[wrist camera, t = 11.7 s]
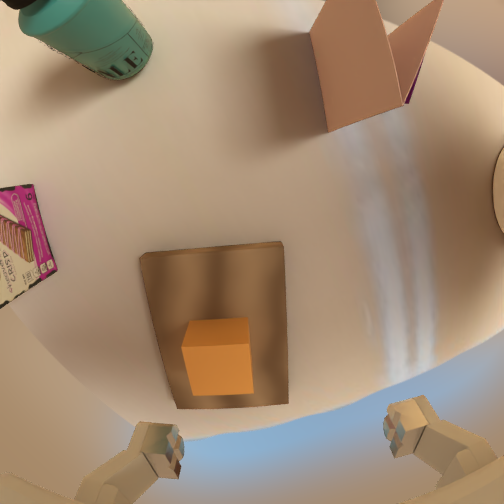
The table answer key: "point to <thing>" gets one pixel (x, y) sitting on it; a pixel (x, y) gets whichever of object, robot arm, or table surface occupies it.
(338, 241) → the table surface
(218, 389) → the orange wooden cube
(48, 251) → the candy bar box
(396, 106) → the greeting card
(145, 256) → the base plate
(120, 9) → the beverage bottle
